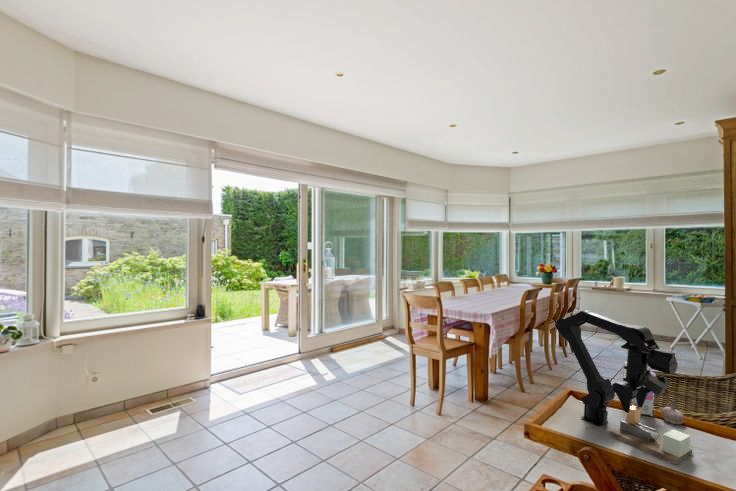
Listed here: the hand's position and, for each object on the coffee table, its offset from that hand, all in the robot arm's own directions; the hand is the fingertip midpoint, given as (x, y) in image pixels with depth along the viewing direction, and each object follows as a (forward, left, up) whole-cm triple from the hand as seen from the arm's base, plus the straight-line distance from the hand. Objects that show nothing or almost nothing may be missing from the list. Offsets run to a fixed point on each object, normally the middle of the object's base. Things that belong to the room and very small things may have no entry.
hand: (633, 409), depth 131 cm
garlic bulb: (+2, +27, -10) cm, 29 cm away
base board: (+5, 0, -9) cm, 11 cm away
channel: (+2, 0, -8) cm, 8 cm away
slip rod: (+2, 0, -7) cm, 7 cm away
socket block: (+12, 0, -8) cm, 15 cm away
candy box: (-10, +27, -10) cm, 30 cm away
